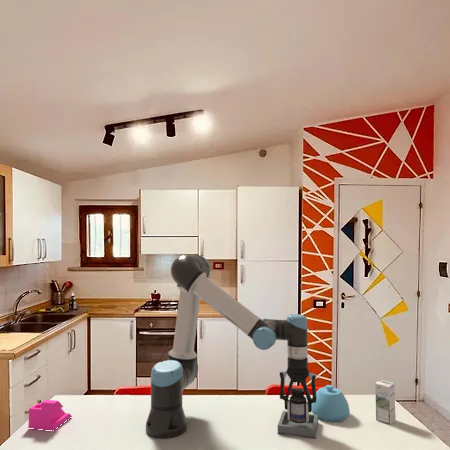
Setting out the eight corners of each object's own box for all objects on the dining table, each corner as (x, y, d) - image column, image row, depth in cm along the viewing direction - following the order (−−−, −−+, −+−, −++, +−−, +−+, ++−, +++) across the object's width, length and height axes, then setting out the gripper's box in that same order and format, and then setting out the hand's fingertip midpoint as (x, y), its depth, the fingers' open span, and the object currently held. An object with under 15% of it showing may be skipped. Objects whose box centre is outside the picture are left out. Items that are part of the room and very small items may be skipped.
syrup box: (396, 420, 154) (395, 382, 155) (390, 425, 150) (389, 386, 151) (381, 415, 158) (380, 378, 159) (375, 420, 154) (374, 382, 155)
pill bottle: (295, 415, 152) (294, 386, 153) (309, 419, 148) (309, 389, 149) (286, 420, 147) (286, 390, 148) (301, 425, 143) (301, 394, 144)
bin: (277, 433, 143) (277, 425, 143) (283, 418, 156) (282, 410, 156) (315, 438, 139) (315, 430, 139) (317, 422, 152) (317, 414, 152)
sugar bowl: (335, 427, 149) (335, 395, 149) (303, 414, 160) (303, 385, 161) (356, 415, 159) (356, 386, 159) (325, 404, 170) (324, 377, 170)
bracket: (53, 432, 145) (53, 403, 145) (28, 429, 147) (29, 401, 147) (71, 418, 156) (72, 391, 157) (48, 416, 158) (49, 390, 159)
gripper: (270, 357, 148) (271, 420, 147) (323, 361, 143) (324, 427, 141) (274, 352, 155) (274, 412, 154) (324, 356, 150) (325, 418, 149)
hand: (298, 419), depth 148 cm, fingers closed on pill bottle, 6 cm apart
